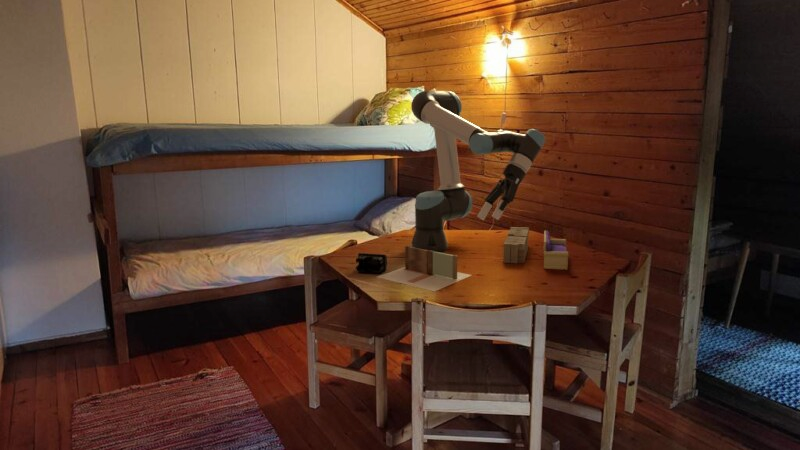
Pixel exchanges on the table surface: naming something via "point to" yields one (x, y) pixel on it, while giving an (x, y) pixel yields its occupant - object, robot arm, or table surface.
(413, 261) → the fence fixed
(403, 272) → the card
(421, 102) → the robot arm
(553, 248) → the toy sofa
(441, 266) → the fence gate
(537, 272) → the table surface
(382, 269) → the end cap
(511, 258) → the block tower
